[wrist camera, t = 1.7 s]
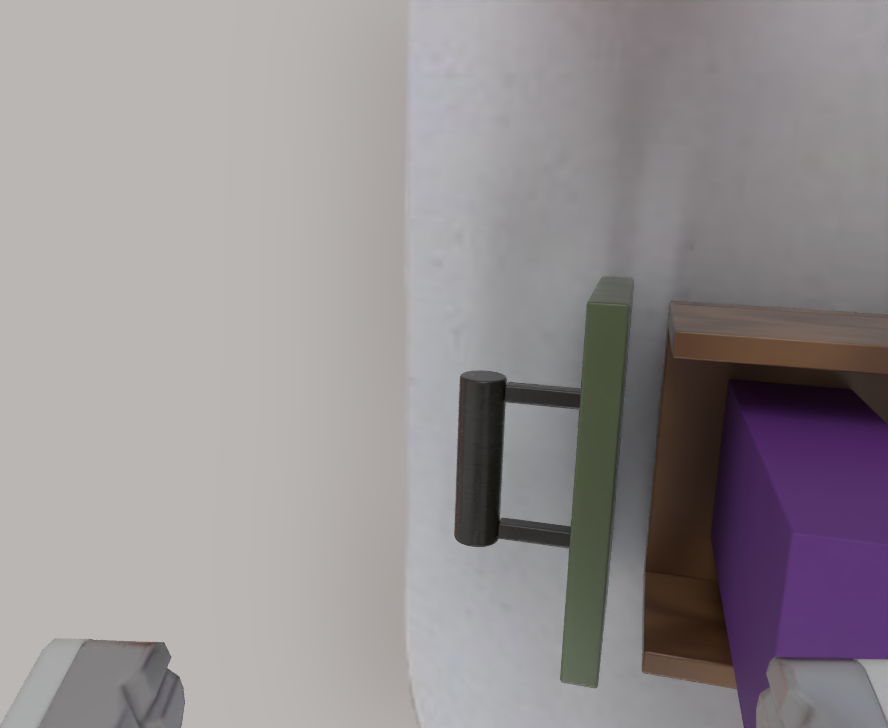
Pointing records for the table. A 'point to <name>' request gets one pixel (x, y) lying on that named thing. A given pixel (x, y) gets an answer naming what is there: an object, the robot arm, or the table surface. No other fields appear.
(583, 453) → the drawer
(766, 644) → the snack box
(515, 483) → the table surface
